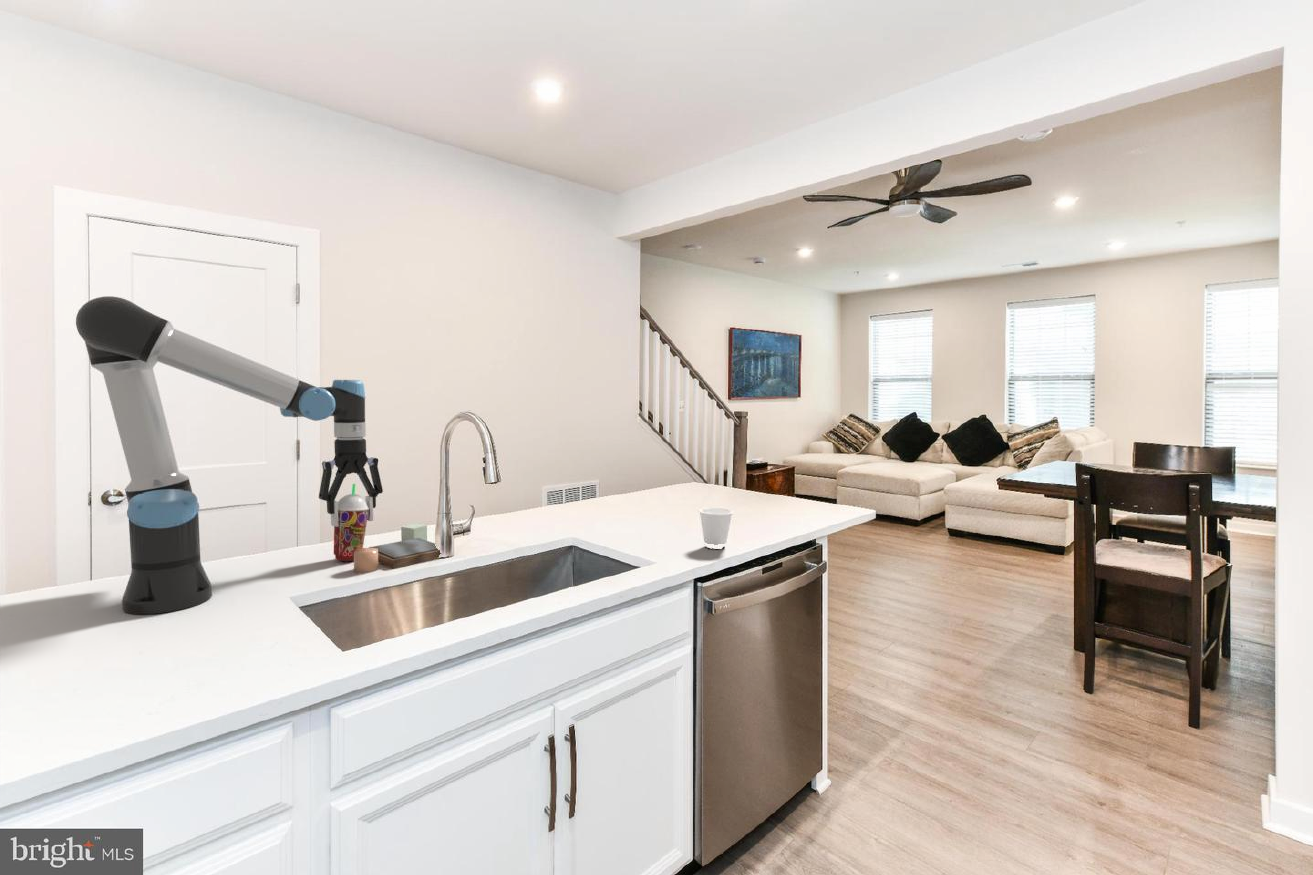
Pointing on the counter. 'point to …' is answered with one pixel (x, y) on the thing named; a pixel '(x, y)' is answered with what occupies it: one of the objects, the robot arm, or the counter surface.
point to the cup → (715, 524)
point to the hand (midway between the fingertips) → (352, 522)
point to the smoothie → (350, 526)
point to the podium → (406, 553)
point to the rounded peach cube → (366, 560)
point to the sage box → (414, 532)
